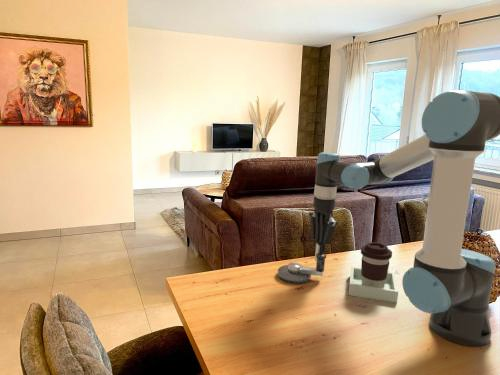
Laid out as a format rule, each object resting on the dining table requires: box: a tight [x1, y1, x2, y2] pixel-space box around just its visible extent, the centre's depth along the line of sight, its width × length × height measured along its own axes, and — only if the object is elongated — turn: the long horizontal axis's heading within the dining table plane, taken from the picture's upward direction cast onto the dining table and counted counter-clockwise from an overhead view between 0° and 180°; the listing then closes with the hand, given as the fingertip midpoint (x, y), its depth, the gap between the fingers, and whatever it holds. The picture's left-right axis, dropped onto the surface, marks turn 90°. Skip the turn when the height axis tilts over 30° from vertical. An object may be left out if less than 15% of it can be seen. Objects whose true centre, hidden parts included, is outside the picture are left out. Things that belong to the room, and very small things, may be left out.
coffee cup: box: [360, 241, 393, 288], centre depth 127 cm, size 10×10×15 cm
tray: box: [348, 266, 399, 304], centre depth 128 cm, size 15×15×4 cm
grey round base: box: [277, 264, 318, 285], centre depth 136 cm, size 12×14×2 cm
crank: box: [287, 253, 327, 277], centre depth 134 cm, size 13×5×7 cm, turn 76°
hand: (318, 260), depth 135 cm, fingers closed
